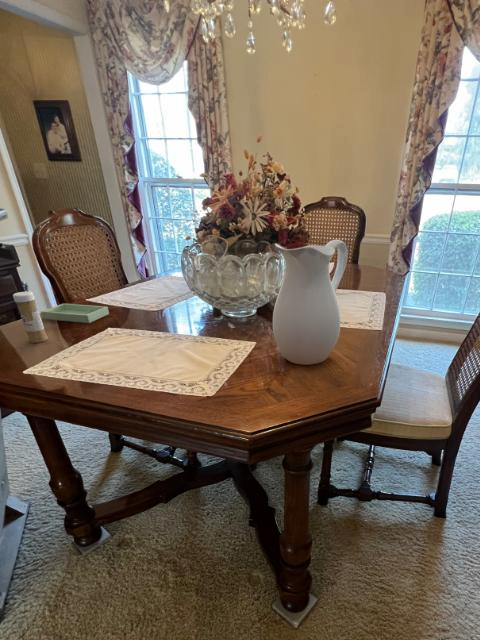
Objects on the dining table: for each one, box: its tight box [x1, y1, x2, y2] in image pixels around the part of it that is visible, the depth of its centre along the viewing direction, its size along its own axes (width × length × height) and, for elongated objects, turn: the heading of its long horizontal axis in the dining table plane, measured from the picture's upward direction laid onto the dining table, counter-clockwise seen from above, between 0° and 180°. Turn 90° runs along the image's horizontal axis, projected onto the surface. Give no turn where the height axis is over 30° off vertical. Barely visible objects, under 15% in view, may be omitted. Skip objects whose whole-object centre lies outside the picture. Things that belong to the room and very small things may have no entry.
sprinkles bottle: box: [12, 291, 49, 344], centre depth 105 cm, size 5×5×13 cm
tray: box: [40, 303, 110, 324], centre depth 127 cm, size 18×10×2 cm, turn 78°
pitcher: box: [272, 239, 349, 366], centre depth 94 cm, size 24×17×28 cm
